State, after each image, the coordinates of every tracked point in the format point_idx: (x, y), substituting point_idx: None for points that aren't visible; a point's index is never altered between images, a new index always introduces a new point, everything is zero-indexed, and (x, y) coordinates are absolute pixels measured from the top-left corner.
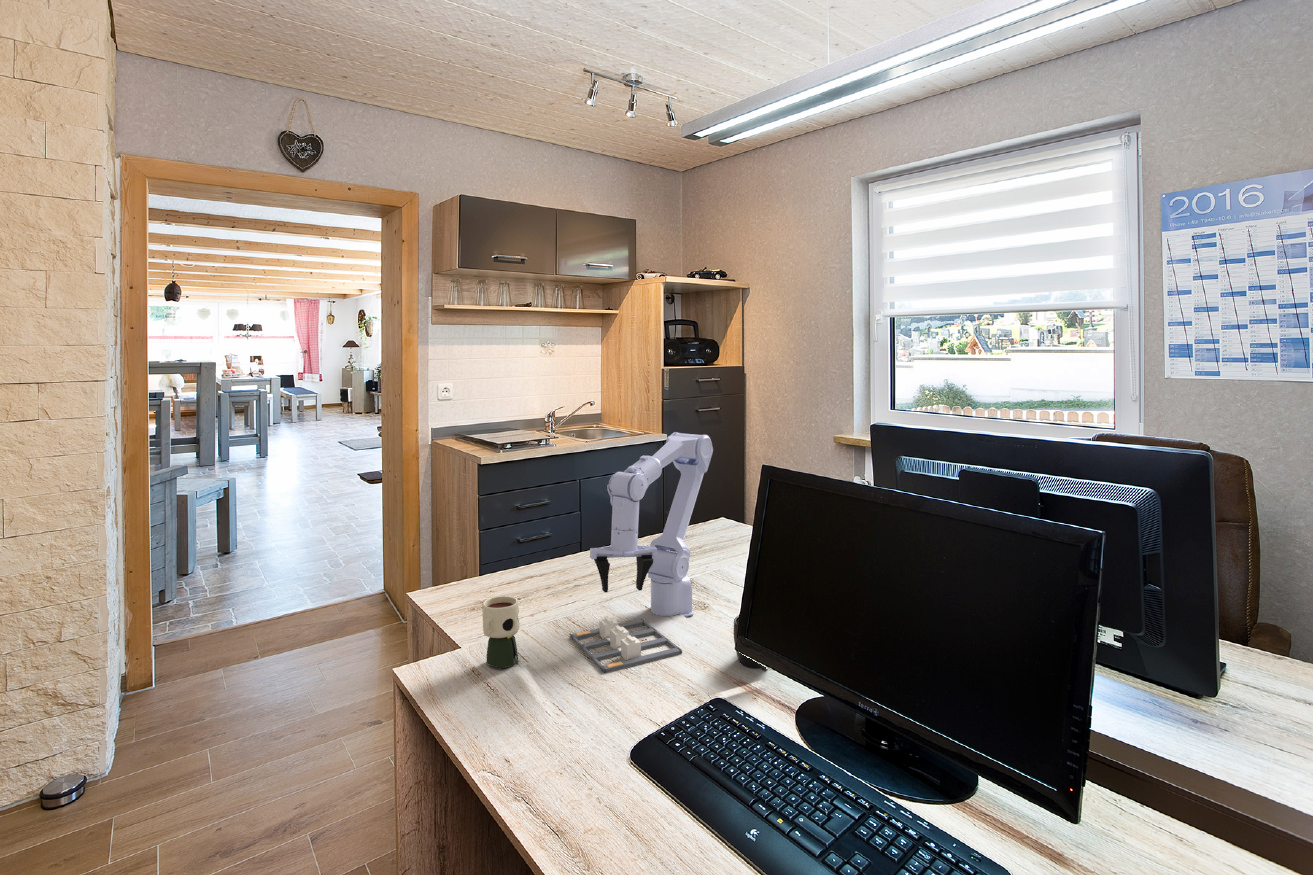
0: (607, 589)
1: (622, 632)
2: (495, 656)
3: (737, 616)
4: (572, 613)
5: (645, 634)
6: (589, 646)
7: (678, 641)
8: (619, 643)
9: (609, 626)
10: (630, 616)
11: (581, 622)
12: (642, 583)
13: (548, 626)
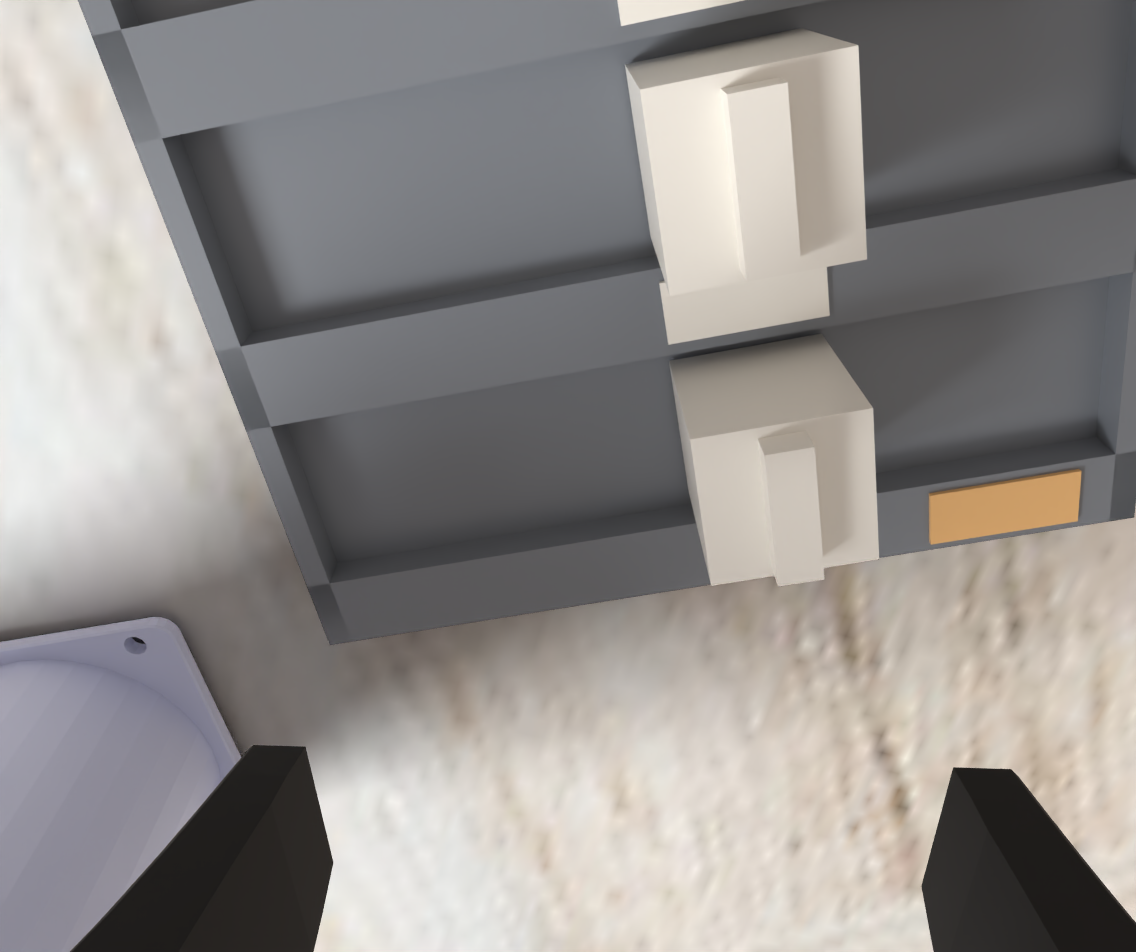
0: (987, 805)
1: (742, 83)
2: None
3: None
4: (848, 928)
5: (363, 317)
6: (1077, 186)
7: (10, 170)
8: (768, 46)
9: (800, 406)
10: (412, 786)
11: (840, 789)
12: (184, 849)
13: (1116, 790)
